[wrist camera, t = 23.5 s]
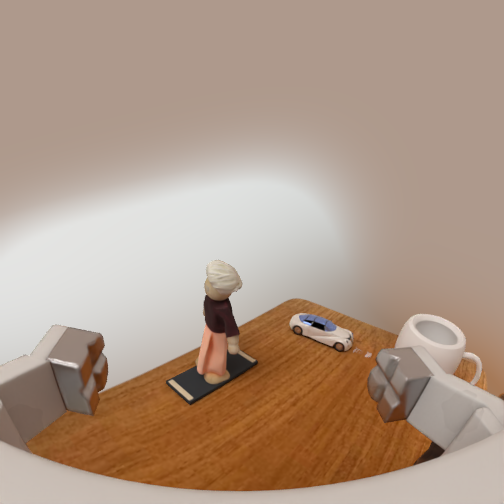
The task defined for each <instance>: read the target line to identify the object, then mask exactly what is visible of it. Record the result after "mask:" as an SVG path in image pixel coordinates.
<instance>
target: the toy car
mask: <svg viewBox="0 0 504 504" xmlns="http://www.w3.org/2000/svg"><path fill="white" fill-rule="evenodd" d="M331 321H332V320H331ZM331 321H329V320H327V319H325V318H322V317H319V316H316V315H312V314H304V313H301V314H296V315H294V316H293V317H292V319H291V321H290V327H291V329H293V331H294V333H296V334H298V335H299V334H301V333H302V332H303V334H302V335H305V336H309V337H311V338H313V339H315V340H317V341H320V342H322V343H324V344H327V345H329V346H332V347H333V345H334V344H335V345H334V347H335V349H336V350H337V351H343V350H344V348H345V350H344V351H346V350H348V349H349V348H350V347H351V346H352V344H353V339H354V338H353V333H352V332H351V331H349V330H347V329H342V328H340V327H339V326H337V325H335V324H334V323H332V322H331ZM351 337H352V343H351V340H350V339H351ZM347 343H348V344H347ZM356 350H357V349H356ZM356 350H355V351H356ZM358 350H359V349H358ZM358 350H357V351H358ZM353 352H354V351H353ZM368 353H369V352H368ZM367 355H368V354H367ZM371 355H372V354H371ZM369 356H370V355H369ZM369 356H368V357H369Z"/></svg>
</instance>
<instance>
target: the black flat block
mask: <svg viewBox="0 0 504 504" xmlns="http://www.w3.org/2000/svg"><path fill="white" fill-rule="evenodd" d="M257 363H258V361H257V360H255V359H254V358H252V357H250V356H249V355H247V354H246V353H244V352H243V351H241V350H239V352H238V353H237V354H235V355H233V354H230V353H229V352H228V349H227V356H226V370H227V371H228V372H229V374H230V378H229V379H227V380H225V381H223V382H221V383H218V384H209V383H208V382H206V380H205V379H204V374H203V375H201V374H199V373H198V371H197V366H195V367H193V368H191V369H189V370H187V371H185V372H183V373H181V374H179V375H177V376H175V377H173V378H171V379H169V380H167V381H166V384H167V385H169V386H170V387H171V388H172V389H173V390H174V391H175V392H176V393H177V394H178V395H179V396H181V397H182V398H183V399H184V400H185V401H186V402H187V403H188V404H190V405H191V404H192V403H194V402H196V401H197V400H199V399H201V398H203V397H204V396H206V395H208V394H209V393H211V392H213V391H214V390H216V389H218V388H219V387H221V386H223V385H224V384H226V383H227V382H229V381H231V380H232V379H234V378H236V377H237V376H239V375H240V374H242V373H243V372H245V371H247V370H248V369H250V368H251V367H253V366H254V365H256V364H257Z"/></svg>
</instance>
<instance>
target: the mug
mask: <svg viewBox="0 0 504 504" xmlns="http://www.w3.org/2000/svg"><path fill="white" fill-rule="evenodd" d="M419 345H420V346H422V347H424V348H425V349H426V350H427V351H428V353H429V354H430V355H431V356H432V357H433V358H434V360H435V361H436V362H437V363H438V364H439V365H440V367H441V368H442V369H443V370H444V371H445V373H446V374H449V373H450V374H452V375H453V374H454V372H455V371H456V369H457V367H458V365H459V363H460V361H461V359H462V358H467V359H472V360H473V361H475V363H476V374H475V376H474V378H473V380H472V381H471V382H470V384H472V385H475V384H476V383H477V381H478V380H479V378H480V375H481V371H482V363H481V361H480V359H479V357H478V356H476V355H475V354H473V353H468V352H464V351H465V346H466V338H465V336H464V334H463V332H462V331H461V330H460V329H459V328H458V327H457V326H456V325H454V324H453V323H451V322H450V321H448V320H446V319H444V318H441V317H438V316H435V315H429V314H418V315H414V316H412V317H411V318H410V319H409V320H408V321H407V322H406V323H405V325H404V326H403V328H402V330H401V332H400V334H399V336H398V339H397V342H396V344H395V348H405V347H410V346H419Z"/></svg>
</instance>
